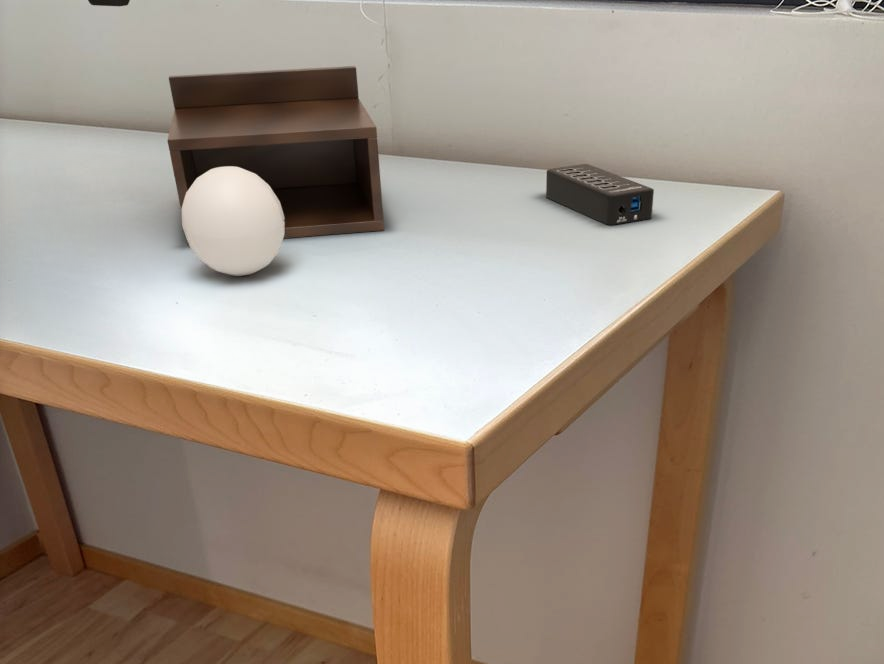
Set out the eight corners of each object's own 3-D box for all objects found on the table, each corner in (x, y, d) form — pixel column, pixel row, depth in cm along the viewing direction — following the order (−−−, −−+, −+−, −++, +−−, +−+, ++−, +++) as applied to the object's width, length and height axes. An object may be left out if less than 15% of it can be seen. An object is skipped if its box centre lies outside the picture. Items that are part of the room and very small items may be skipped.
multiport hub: (585, 190, 91) (587, 163, 90) (653, 218, 83) (656, 188, 82) (544, 196, 90) (544, 169, 88) (609, 225, 82) (611, 196, 80)
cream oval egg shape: (304, 279, 72) (290, 171, 68) (203, 295, 70) (181, 184, 66) (270, 244, 80) (255, 144, 75) (178, 257, 77) (157, 155, 73)
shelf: (188, 245, 80) (160, 104, 74) (192, 202, 91) (168, 75, 84) (384, 230, 82) (373, 91, 76) (365, 189, 93) (355, 65, 87)
